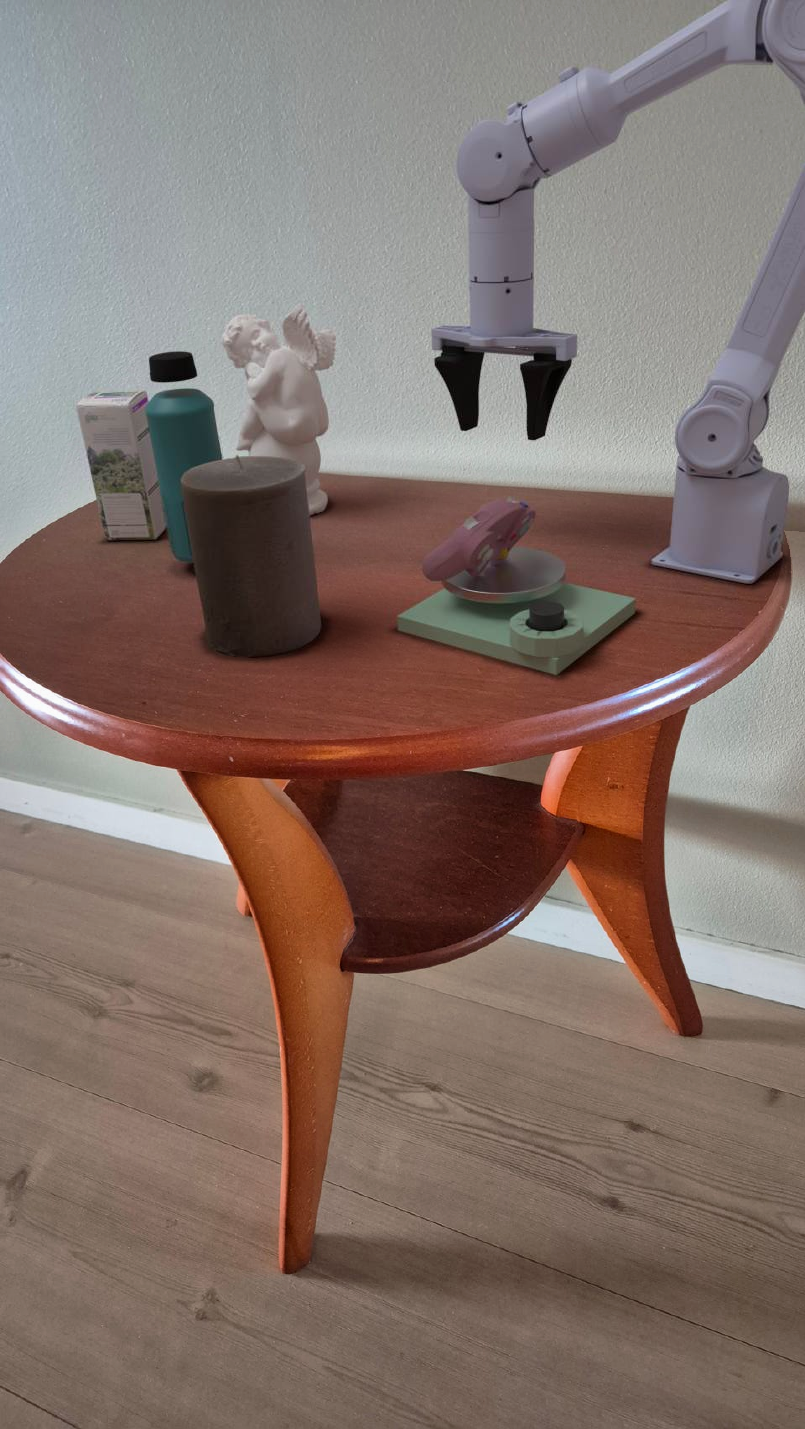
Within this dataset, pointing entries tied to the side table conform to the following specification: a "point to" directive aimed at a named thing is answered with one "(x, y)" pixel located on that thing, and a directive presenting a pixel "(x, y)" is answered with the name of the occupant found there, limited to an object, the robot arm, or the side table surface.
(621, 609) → the scale
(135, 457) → the syrup box
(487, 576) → the scale pan
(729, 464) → the robot arm
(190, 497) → the pillar candle
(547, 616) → the tare button
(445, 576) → the video game controller
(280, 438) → the cherub figurine
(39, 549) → the side table surface
